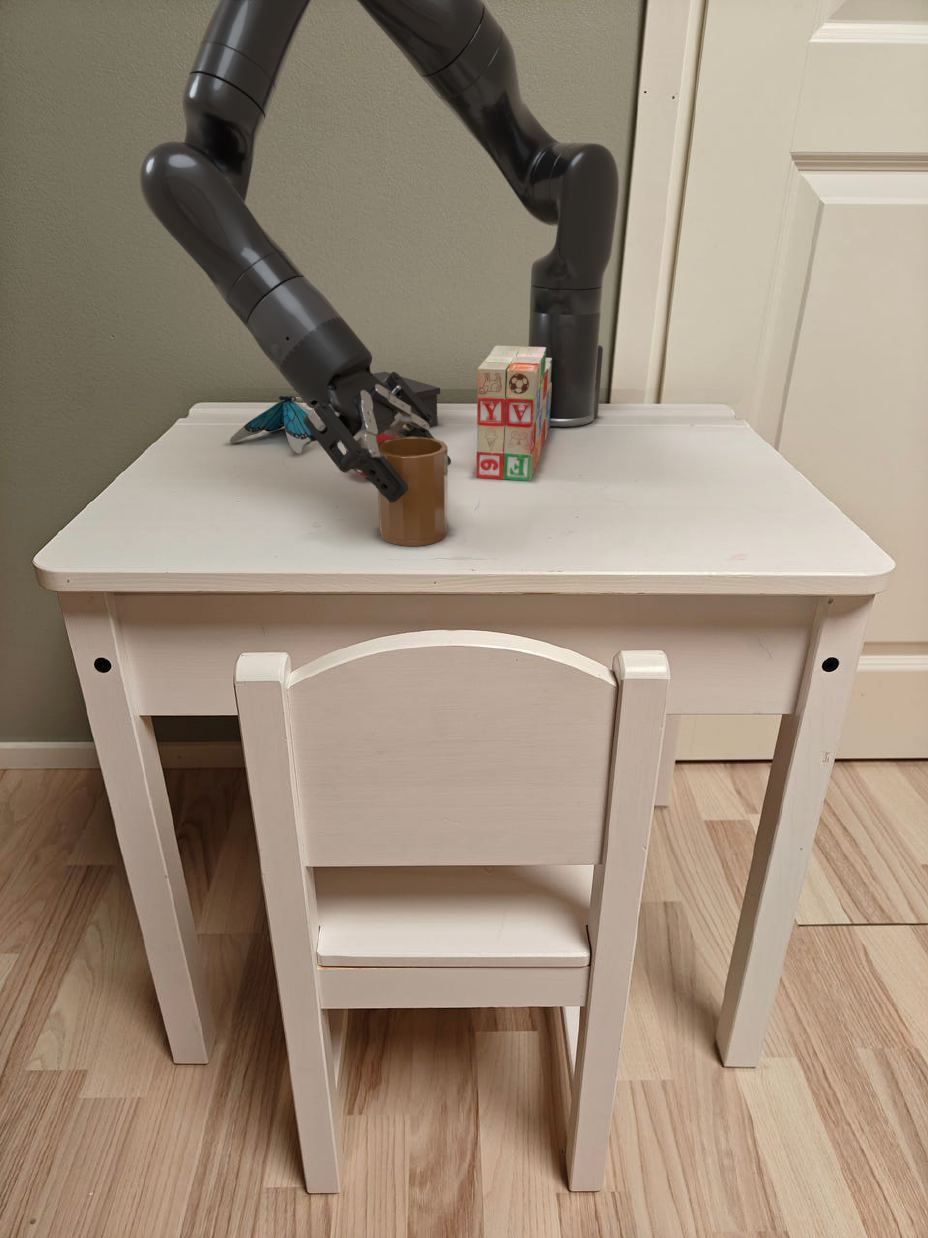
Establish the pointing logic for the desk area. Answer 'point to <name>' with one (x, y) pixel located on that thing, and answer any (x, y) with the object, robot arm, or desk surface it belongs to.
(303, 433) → the decorative butterfly
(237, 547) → the desk surface
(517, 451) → the stack of blocks
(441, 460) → the cup
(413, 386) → the black lidded box
